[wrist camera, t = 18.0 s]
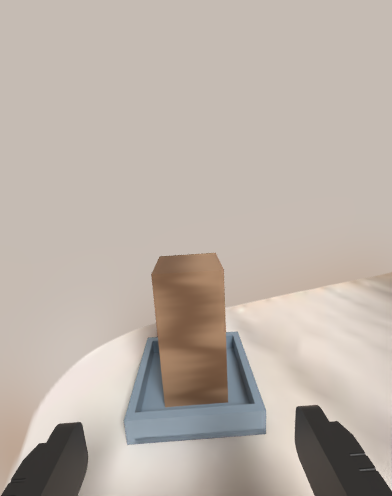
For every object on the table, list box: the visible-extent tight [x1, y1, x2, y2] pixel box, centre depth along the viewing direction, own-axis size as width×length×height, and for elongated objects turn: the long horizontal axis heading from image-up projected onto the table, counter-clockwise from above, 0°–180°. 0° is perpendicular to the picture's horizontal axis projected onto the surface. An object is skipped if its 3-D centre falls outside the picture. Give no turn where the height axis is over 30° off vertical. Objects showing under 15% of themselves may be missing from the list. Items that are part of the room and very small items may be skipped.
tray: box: [124, 332, 266, 445], centre depth 21 cm, size 10×10×2 cm
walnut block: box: [151, 253, 228, 407], centre depth 20 cm, size 5×5×11 cm
